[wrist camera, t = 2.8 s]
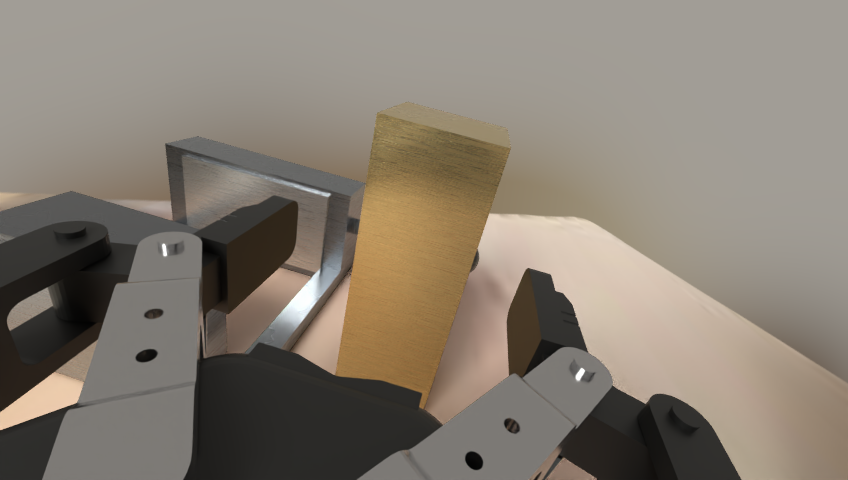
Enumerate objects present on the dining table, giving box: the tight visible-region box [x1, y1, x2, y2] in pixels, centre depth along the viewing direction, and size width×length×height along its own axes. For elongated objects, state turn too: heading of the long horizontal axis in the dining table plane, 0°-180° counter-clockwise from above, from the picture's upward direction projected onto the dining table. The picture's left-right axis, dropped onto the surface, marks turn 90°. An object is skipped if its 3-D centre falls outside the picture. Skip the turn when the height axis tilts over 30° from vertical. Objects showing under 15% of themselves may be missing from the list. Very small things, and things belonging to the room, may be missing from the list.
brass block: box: [336, 102, 511, 409], centre depth 19 cm, size 5×5×15 cm
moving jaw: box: [0, 191, 227, 382], centre depth 17 cm, size 8×4×8 cm, turn 79°
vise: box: [165, 136, 479, 354], centre depth 23 cm, size 24×15×8 cm, turn 79°
